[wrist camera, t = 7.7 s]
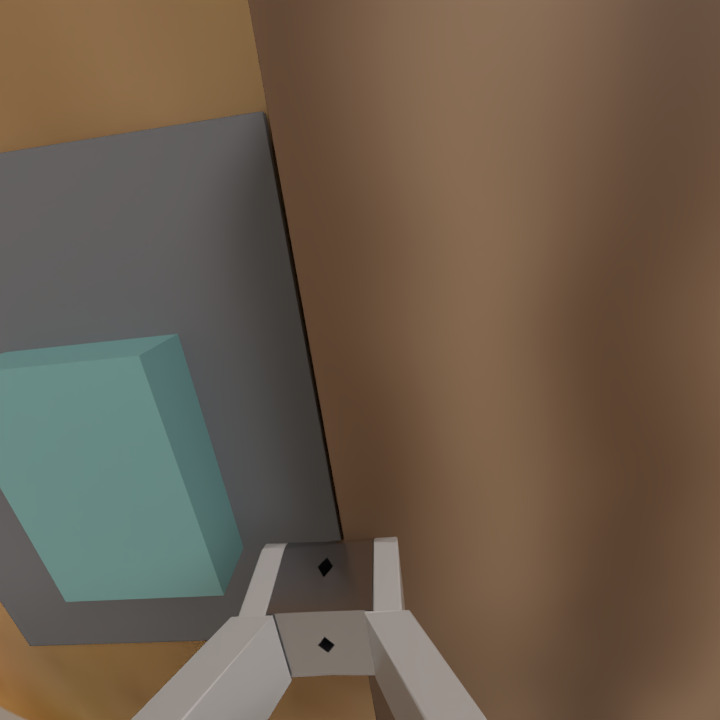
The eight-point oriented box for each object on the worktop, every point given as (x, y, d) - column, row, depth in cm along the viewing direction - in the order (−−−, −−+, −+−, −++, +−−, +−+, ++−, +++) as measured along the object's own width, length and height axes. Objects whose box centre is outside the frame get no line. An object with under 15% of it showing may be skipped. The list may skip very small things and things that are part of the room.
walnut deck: (927, -46, 8) (1427, -290, 4) (708, 632, 16) (814, 763, 12) (296, 61, 9) (238, -52, 5) (382, 642, 17) (384, 763, 13)
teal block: (-64, 376, 10) (5, 352, 12) (65, 601, 13) (104, 554, 15) (138, 355, 10) (177, 334, 11) (223, 595, 13) (243, 547, 15)
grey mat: (265, 114, 9) (262, 111, 9) (358, 628, 16) (358, 635, 16) (-254, 196, 11) (-270, 196, 11) (35, 639, 18) (30, 645, 18)
